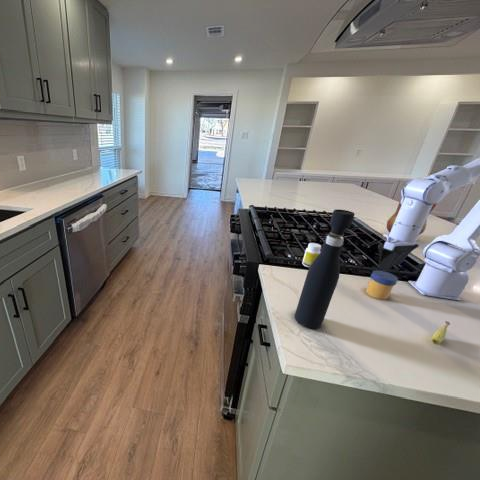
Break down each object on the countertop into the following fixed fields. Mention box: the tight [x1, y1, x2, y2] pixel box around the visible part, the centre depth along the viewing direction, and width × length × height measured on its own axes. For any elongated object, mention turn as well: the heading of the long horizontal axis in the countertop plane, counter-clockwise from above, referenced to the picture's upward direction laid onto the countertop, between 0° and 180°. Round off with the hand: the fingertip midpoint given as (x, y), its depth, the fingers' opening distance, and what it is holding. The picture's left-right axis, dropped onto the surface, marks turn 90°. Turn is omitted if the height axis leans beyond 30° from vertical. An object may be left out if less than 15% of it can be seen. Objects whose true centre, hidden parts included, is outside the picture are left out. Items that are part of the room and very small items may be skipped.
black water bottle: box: [293, 208, 356, 330], centre depth 61 cm, size 6×6×30 cm
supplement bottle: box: [301, 242, 322, 269], centre depth 93 cm, size 5×5×8 cm
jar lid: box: [370, 269, 399, 287], centre depth 76 cm, size 6×6×2 cm
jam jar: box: [365, 277, 394, 301], centre depth 77 cm, size 5×5×6 cm
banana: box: [430, 320, 451, 345], centre depth 61 cm, size 8×2×4 cm, turn 124°
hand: (389, 266), depth 75 cm, fingers open, 7 cm apart
